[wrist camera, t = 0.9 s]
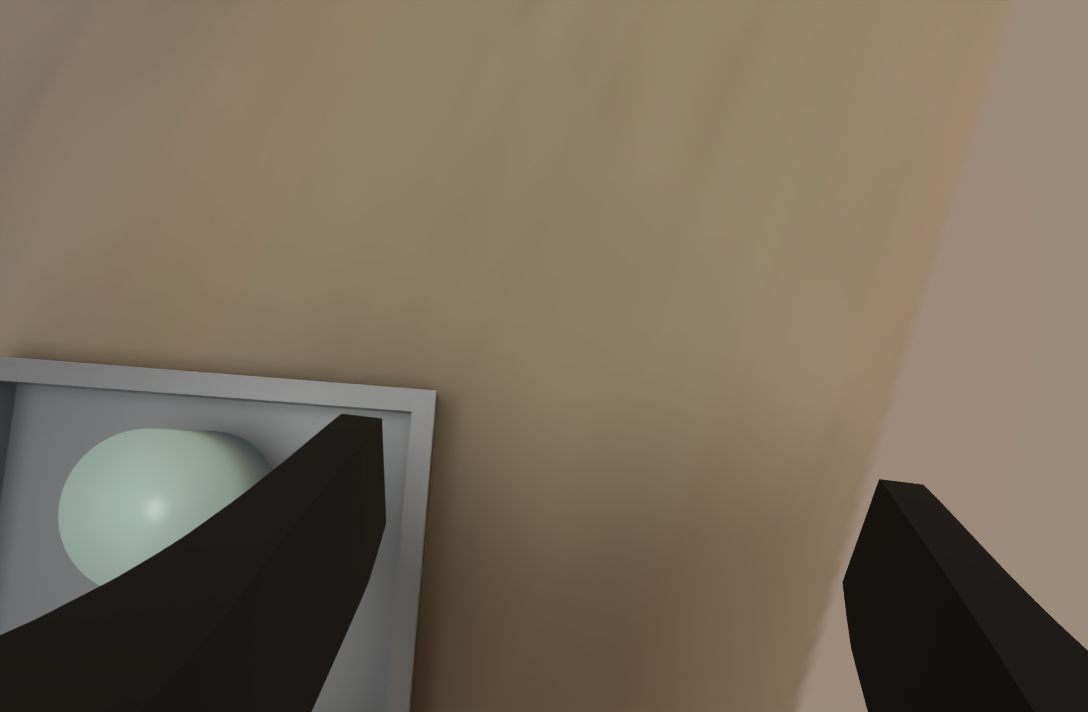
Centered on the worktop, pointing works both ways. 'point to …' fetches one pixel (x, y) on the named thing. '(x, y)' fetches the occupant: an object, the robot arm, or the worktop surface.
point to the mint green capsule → (149, 494)
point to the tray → (236, 408)
